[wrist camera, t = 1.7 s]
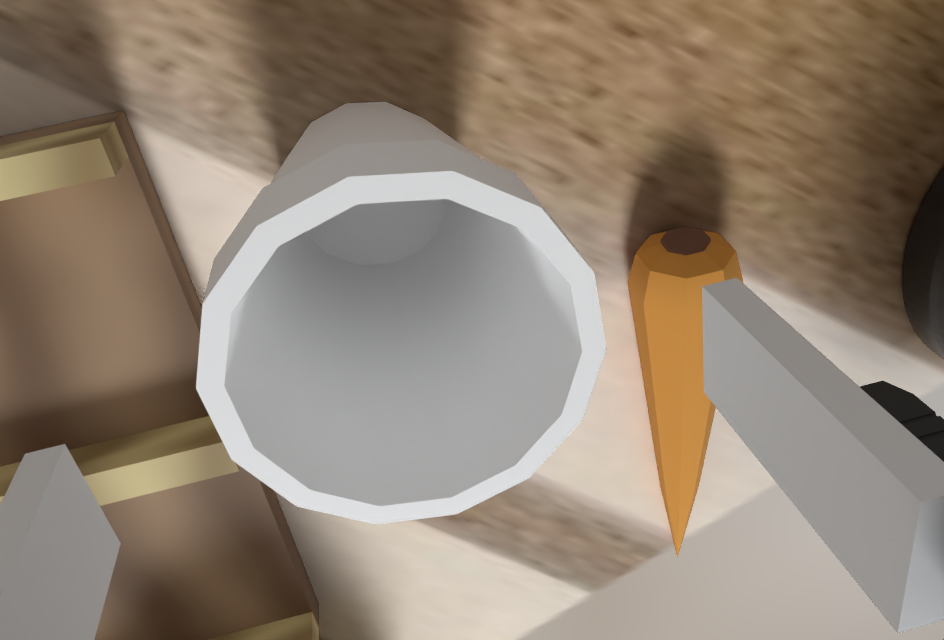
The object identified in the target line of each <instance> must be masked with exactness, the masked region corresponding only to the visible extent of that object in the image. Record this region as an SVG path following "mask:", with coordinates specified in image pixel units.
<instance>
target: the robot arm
mask: <svg viewBox="0 0 944 640" xmlns="http://www.w3.org/2000/svg"><path fill="white" fill-rule="evenodd" d="M902 287H903V298H904V304H905V308H906V312H907V315H908V318H909V320H910V323H911V325H912V327H913V329H914V331H915V332H916V334H917V335H918V337H919V338H920V339H921V340H922V341H923V343H924V344H925V345H926V346H927V347H929V348H930V349H931V350H932V351H933V352H935V353H936V354H937V355H939V356H940V357H942V358H943V359H944V169H943V171H942V172H941V174H940V175H939V177H938V178H937V180H936V181H935V183H934V185H933V186H932V188H931V190H930V191H929V193H928V195H927V197H926V199H925V201H924V203H923V205H922V207H921V209H920V211H919V213H918V216H917V218H916V220H915V223H914V226H913V228H912V231H911V234H910V238H909V241H908V245H907V249H906V253H905V259H904V265H903V279H902ZM702 306H703V369H704V393H705V394H706V395H707V397H708V398H709V399H710V400H711V402H712V403H713V404H714V405H715V407H716V408H717V409H718V410H719V412H720V413H721V414H722V415H723V417H724V418H725V419H726V420H727V422H728V423H729V424H730V425H731V427H732V428H733V429H734V430H735V432H736V433H737V434H738V435H739V436H740V438H741V439H742V440H743V441H744V443H745V444H746V445H747V446H748V448H749V449H750V450H751V451H752V453H753V454H754V455H755V456H756V458H757V459H758V460H759V461H760V463H761V464H762V465H763V466H764V468H765V469H766V470H767V471H768V473H769V474H770V475H771V476H772V478H773V479H774V480H775V481H776V483H777V484H778V485H779V486H780V487H781V489H782V490H783V491H784V492H785V494H786V495H787V496H788V497H789V499H790V500H791V501H792V502H793V504H794V505H795V506H796V507H797V509H798V510H799V511H800V512H801V514H802V515H803V516H804V517H805V519H806V520H807V521H808V522H809V524H810V525H811V526H812V527H813V529H814V530H815V531H816V532H817V534H818V535H819V536H820V537H821V539H822V540H823V541H824V542H825V544H826V545H827V546H828V547H829V549H830V550H831V551H832V552H833V553H834V555H835V556H836V557H837V558H838V560H839V561H840V562H841V563H842V565H843V566H844V567H845V568H846V570H847V571H848V572H849V573H850V575H851V576H852V577H853V578H854V580H855V581H856V582H857V583H858V585H859V586H860V587H861V588H862V590H863V591H864V592H865V593H866V594H867V596H868V597H869V598H870V600H871V601H872V602H873V603H874V605H875V606H876V607H877V608H878V609H879V611H880V612H881V613H882V615H883V616H884V617H885V618H886V620H887V621H888V622H889V623H890V624H891V626H892V627H893V628H894V629H895V631H896V632H897V633H900V632H904V631H907V630H911V629H914V628H917V627H921V626H924V625H928V624H931V623H934V622H938V621H941V620H944V419H943V418H942V417H940V416H938V417H937V416H936V414H935V412H934V411H933V410H932V409H930V408H929V407H928V406H927V405H926V404H925V403H923V402H922V401H921V400H920V399H919V398H917V397H916V396H915V395H914V394H912V393H910V392H907V391H905V390H903V389H901V388H898V387H896V386H894V385H891V384H889V383H887V382H885V381H880V382H876V383H872V384H868V385H864V386H861V387H859V386H858V385H857V384H856V383H854V382H853V381H852V380H851V379H850V378H849V377H848V376H847V375H845V374H844V373H843V372H842V371H841V370H840V369H839V368H838V367H836V366H835V365H834V364H833V363H832V362H831V361H830V360H829V359H827V358H826V357H825V356H824V355H823V354H822V353H821V352H820V351H818V350H817V349H816V348H815V347H814V346H813V345H812V344H811V343H809V342H808V341H807V340H806V339H805V338H804V337H803V336H802V335H801V334H799V333H798V332H797V331H796V330H795V329H794V328H793V327H792V326H790V325H789V324H788V323H787V322H786V321H785V320H784V319H783V318H781V317H780V316H779V315H778V314H777V313H776V312H775V311H774V310H772V309H771V308H770V307H769V306H768V305H767V304H766V303H765V302H763V301H762V300H761V299H760V298H759V297H758V296H757V295H756V294H754V293H753V292H752V291H751V290H750V289H749V288H748V287H747V286H745V285H744V284H743V283H742V282H741V281H740V280H739V279H738V278H734V279H730V280H726V281H722V282H717V283H713V284H709V285H705V286H702ZM120 544H121V543H120V541H119V539H118V538H117V536H116V534H115V532H114V531H113V529H112V527H111V525H110V523H109V522H108V520H107V518H106V516H105V514H104V513H103V511H102V509H101V507H100V506H99V504H98V502H97V500H96V498H95V497H94V495H93V493H92V491H91V489H90V488H89V486H88V484H87V482H86V481H85V479H84V477H83V475H82V473H81V472H80V470H79V468H78V466H77V464H76V463H75V461H74V459H73V457H72V455H71V454H70V452H69V450H68V448H67V447H66V445H65V444H63V445H58V446H54V447H50V448H46V449H42V450H38V451H34V452H30V453H26V454H25V455H24V457H23V459H22V461H21V463H20V465H19V467H18V469H17V471H16V473H15V475H14V477H13V479H12V481H11V484H10V486H9V488H8V490H7V492H6V494H5V496H4V498H3V500H2V502H1V504H0V640H94V639H95V635H96V632H97V628H98V625H99V621H100V617H101V614H102V610H103V606H104V603H105V599H106V595H107V592H108V588H109V584H110V581H111V577H112V573H113V570H114V566H115V562H116V559H117V555H118V551H119V548H120ZM943 640H944V639H943Z"/></svg>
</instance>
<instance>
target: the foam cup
mask: <svg viewBox="0 0 944 640" xmlns="http://www.w3.org/2000/svg"><path fill="white" fill-rule="evenodd" d="M606 349H607V348H606V342H605V336H604V330H603V323H602V317H601V311H600V305H599V299H598V292H597V286H596V280H595V274H594V272H593V270H592V269H591V268H590V266H589V265H588V264H587V262H586V261H585V260H584V258H583V257H582V256H581V254H580V253H579V252H578V250H577V249H576V248H575V246H574V245H573V244H572V242H571V241H570V240H569V238H568V237H567V236H566V235H565V233H564V232H563V231H562V230H561V228H560V227H559V226H558V225H557V223H556V222H555V221H554V220H553V218H552V217H551V216H550V215H549V214H548V212H547V211H546V210H545V209H544V207H543V206H542V205H541V204H540V202H539V201H538V200H537V199H536V198H535V196H534V195H533V194H532V193H531V191H530V190H529V189H528V188H527V186H526V185H525V184H524V183H523V182H522V180H521V179H520V178H519V177H518V175H517V174H516V173H514V172H511V171H509V170H506V169H504V168H502V167H499V166H497V165H495V164H492V163H490V162H488V161H485V160H483V159H481V158H479V157H478V156H476V155H475V154H473V153H472V152H471V151H469V150H468V149H466V148H465V147H464V146H462V145H461V144H459V143H458V142H457V141H455V140H454V139H452V138H451V137H449V136H448V135H447V134H445V133H444V132H442V131H441V130H440V129H438V128H437V127H435V126H434V125H433V124H431V123H430V122H428V121H427V120H425V119H423V118H422V117H420V116H417V115H415V114H413V113H411V112H408V111H406V110H404V109H401V108H399V107H397V106H394V105H392V104H390V103H388V102H367V103H346V104H344V105H342V106H340V107H338V108H336V109H335V110H333V111H331V112H329V113H327V114H325V115H324V116H322V117H320V118H318V119H316V120H314V121H313V122H311V123H310V125H309V126H308V127H307V129H306V130H305V132H304V133H303V135H302V136H301V137H300V139H299V140H298V142H297V143H296V145H295V146H294V148H293V149H292V151H291V152H290V153H289V155H288V156H287V158H286V159H285V161H284V163H283V164H282V166H281V168H280V169H279V171H278V172H277V174H276V176H275V177H274V179H273V181H272V182H271V184H270V185H268V186H266V187H264V188H263V189H262V190H261V191H260V193H259V194H258V196H257V197H256V199H255V200H254V202H253V203H252V205H251V206H250V207H249V209H248V210H247V212H246V213H245V215H244V216H243V218H242V219H241V221H240V222H239V224H238V225H237V226H236V228H235V229H234V231H233V232H232V234H231V235H230V237H229V238H228V240H227V241H226V243H225V244H224V245H223V247H222V248H221V250H220V251H219V253H218V254H217V256H216V257H215V259H214V262H213V266H212V270H211V273H210V277H209V281H208V285H207V289H206V292H205V296H204V300H203V304H202V316H201V329H200V342H199V354H198V367H197V380H196V390H197V392H198V394H199V396H200V398H201V400H202V402H203V404H204V406H205V408H206V410H207V412H208V414H209V416H210V418H211V420H212V422H213V424H214V426H215V428H216V430H217V432H218V434H219V436H220V438H221V440H222V442H223V444H224V446H225V448H226V450H227V452H228V454H229V456H230V458H231V460H233V461H234V462H235V463H237V464H238V465H240V466H241V467H242V468H244V469H245V470H246V471H248V472H249V473H251V474H252V475H253V476H255V477H256V478H258V479H259V480H260V481H262V482H263V483H264V484H266V485H267V486H269V487H270V488H271V489H273V490H274V491H276V492H277V493H278V494H280V495H281V496H283V497H284V498H285V499H287V500H288V501H289V502H291V503H292V504H294V505H295V506H296V507H301V508H305V509H310V510H314V511H318V512H323V513H327V514H332V515H336V516H341V517H345V518H349V519H354V520H358V521H363V522H367V523H371V524H384V523H391V522H399V521H407V520H415V519H423V518H431V517H438V516H446V515H454V514H458V513H460V512H462V511H464V510H466V509H468V508H470V507H472V506H474V505H476V504H478V503H480V502H482V501H484V500H486V499H488V498H490V497H492V496H494V495H496V494H498V493H500V492H502V491H504V490H506V489H508V488H510V487H512V486H514V485H516V484H518V483H520V482H522V481H524V480H526V479H528V478H529V477H530V476H531V475H532V474H533V473H534V472H535V471H536V470H537V469H538V468H539V467H540V466H541V465H542V463H543V462H544V461H545V460H546V459H547V458H548V457H549V456H550V455H551V454H552V453H553V452H554V451H555V449H556V448H557V447H558V446H559V445H560V444H561V443H562V442H563V441H564V440H565V439H566V438H567V436H568V435H569V434H570V433H571V432H572V431H573V430H574V429H575V428H576V427H577V426H578V425H579V424H580V422H581V421H582V419H583V416H584V413H585V411H586V408H587V405H588V402H589V399H590V396H591V393H592V390H593V387H594V384H595V381H596V378H597V375H598V373H599V370H600V367H601V364H602V361H603V358H604V355H605V352H606Z"/></svg>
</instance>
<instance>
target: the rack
mask: <svg viewBox="0 0 944 640" xmlns="http://www.w3.org/2000/svg"><path fill="white" fill-rule="evenodd" d="M201 316H202V307H201V305H200V302H199V300H198V297H197V294H196V292H195V289H194V287H193V284H192V282H191V279H190V277H189V274H188V272H187V269H186V267H185V264H184V262H183V259H182V256H181V254H180V251H179V249H178V246H177V244H176V241H175V239H174V236H173V234H172V231H171V229H170V226H169V224H168V221H167V218H166V216H165V213H164V211H163V208H162V206H161V203H160V201H159V198H158V196H157V193H156V191H155V188H154V186H153V183H152V180H151V178H150V175H149V173H148V170H147V168H146V165H145V163H144V160H143V158H142V155H141V153H140V150H139V148H138V145H137V142H136V140H135V137H134V135H133V132H132V130H131V127H130V125H129V122H128V120H127V117H126V115H125V112H124V110H123V111H119V112H114V113H109V114H104V115H100V116H95V117H90V118H85V119H81V120H76V121H71V122H67V123H62V124H57V125H52V126H48V127H43V128H38V129H33V130H29V131H24V132H19V133H15V134H10V135H5V136H0V504H1V502H2V500H3V498H4V496H5V494H6V492H7V490H8V488H9V486H10V484H11V481H12V479H13V477H14V475H15V473H16V471H17V469H18V467H19V465H20V463H21V461H22V459H23V457H24V455H25V454H26V453H30V452H34V451H38V450H42V449H46V448H50V447H54V446H58V445H63V444H65V445H66V447H67V448H68V450H69V452H70V454H71V455H72V457H73V459H74V461H75V463H76V464H77V466H78V468H79V470H80V472H81V473H82V475H83V477H84V479H85V481H86V482H87V484H88V486H89V488H90V489H91V491H92V493H93V495H94V497H95V498H96V500H97V502H98V504H99V506H100V507H101V509H102V511H103V513H104V514H105V516H106V518H107V520H108V522H109V523H110V525H111V527H112V529H113V531H114V532H115V534H116V536H117V538H118V539H119V541H120V543H121V544H120V548H119V551H118V555H117V559H116V562H115V566H114V570H113V573H112V577H111V581H110V584H109V588H108V592H107V595H106V599H105V603H104V606H103V610H102V614H101V617H100V621H99V625H98V628H97V632H96V635H95V639H94V640H319V604H318V601H317V599H316V596H315V593H314V591H313V588H312V586H311V583H310V581H309V578H308V576H307V573H306V571H305V568H304V566H303V563H302V561H301V558H300V555H299V553H298V550H297V548H296V545H295V543H294V540H293V538H292V535H291V533H290V530H289V528H288V525H287V523H286V520H285V517H284V515H283V512H282V510H281V507H280V505H279V502H278V500H277V497H276V495H275V492H274V490H273V489H271V488H270V487H269V486H267V485H266V484H264V483H263V482H262V481H260V480H259V479H258V478H256V477H255V476H253V475H252V474H251V473H249V472H248V471H246V470H245V469H244V468H242V467H241V466H240V465H238V464H237V463H235V462H234V461H233V460H231V458H230V456H229V454H228V452H227V450H226V448H225V446H224V444H223V442H222V440H221V438H220V436H219V434H218V432H217V430H216V428H215V426H214V424H213V422H212V420H211V418H210V416H209V414H208V412H207V410H206V408H205V406H204V404H203V402H202V400H201V398H200V396H199V394H198V392H197V390H196V380H197V367H198V354H199V342H200V329H201Z"/></svg>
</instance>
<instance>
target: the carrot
mask: <svg viewBox="0 0 944 640" xmlns="http://www.w3.org/2000/svg"><path fill="white" fill-rule="evenodd" d="M734 278H738V279H739V280H740V281H741V282H742V283H743V278H742V274H741V270H740V266H739V262H738V257H737V253H736V250H735V249H734V248H733V247H732V246H731V245H730V244H729V243H728V242H727V241H726V240H725V239H724V238H723V237H722V236H721V235H720V234H719V233H714V232H708V231H703V230H702V229H696V228H691V227H681V228H676V229H672V230H668V231H665V232H661V233H657V234H652V235H650V236H649V237H648V239H647V240H646V241H645V242H644V243H643V245H642V246H641V247H640V248H639V249H638V251H637V252H636V254H635V258H634V261H633V265H632V268H631V272H630V275H629V279H628V287H629V293H630V299H631V306H632V312H633V318H634V324H635V331H636V337H637V343H638V349H639V356H640V362H641V368H642V374H643V381H644V387H645V393H646V399H647V406H648V412H649V418H650V424H651V430H652V437H653V443H654V449H655V455H656V462H657V468H658V474H659V480H660V487H661V491H662V495H663V499H664V503H665V508H666V512H667V516H668V520H669V524H670V528H671V533H672V537H673V541H674V545H675V549H676V554H677V556H678V554H679V550H680V547H681V544H682V540H683V537H684V534H685V530H686V527H687V523H688V520H689V517H690V513H691V510H692V507H693V503H694V500H695V496H696V493H697V490H698V486H699V482H700V477H701V473H702V468H703V463H704V459H705V454H706V449H707V445H708V440H709V436H710V431H711V426H712V422H713V417H714V413H715V408H716V407H715V405H714V404H713V403H712V402H711V400H710V399H709V398H708V397H707V395H706V394H705V393H704V369H703V306H702V286H705V285H709V284H713V283H717V282H722V281H726V280H730V279H734Z"/></svg>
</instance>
